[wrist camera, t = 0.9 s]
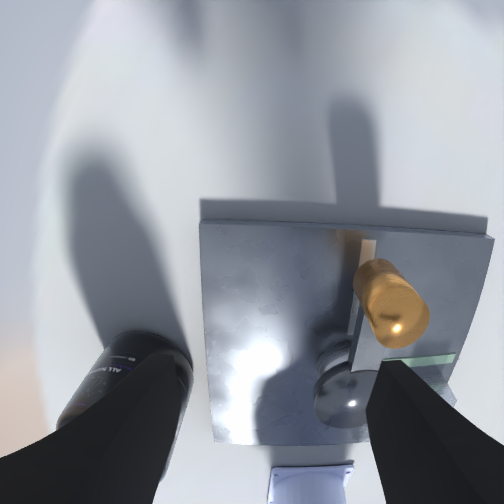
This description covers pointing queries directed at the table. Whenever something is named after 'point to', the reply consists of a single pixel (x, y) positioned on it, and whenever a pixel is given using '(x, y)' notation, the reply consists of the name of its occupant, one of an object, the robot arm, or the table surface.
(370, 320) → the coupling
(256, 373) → the base
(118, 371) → the supplement bottle
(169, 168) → the table surface
